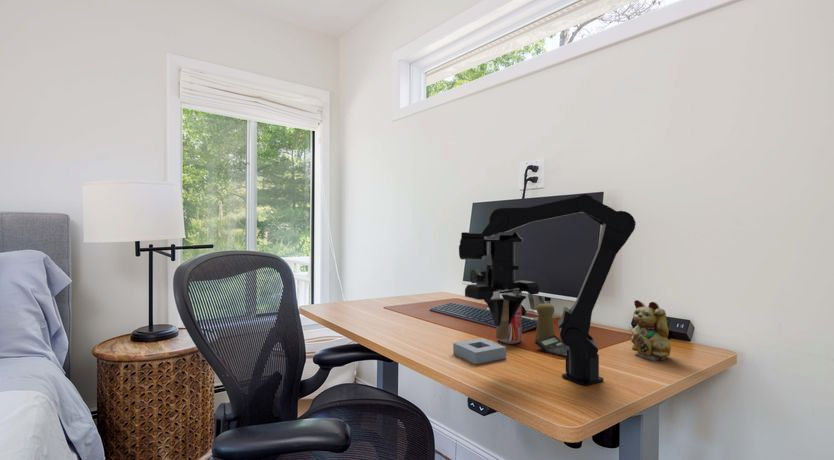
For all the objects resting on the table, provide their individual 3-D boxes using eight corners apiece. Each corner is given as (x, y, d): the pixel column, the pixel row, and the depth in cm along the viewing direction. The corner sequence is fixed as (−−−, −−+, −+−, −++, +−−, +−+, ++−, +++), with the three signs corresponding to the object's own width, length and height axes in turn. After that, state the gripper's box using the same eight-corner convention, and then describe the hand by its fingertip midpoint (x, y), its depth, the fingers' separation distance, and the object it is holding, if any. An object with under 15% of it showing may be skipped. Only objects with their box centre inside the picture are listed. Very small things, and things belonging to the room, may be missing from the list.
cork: (542, 342, 121) (542, 306, 121) (531, 337, 127) (531, 302, 127) (559, 341, 123) (559, 305, 123) (548, 336, 129) (548, 301, 129)
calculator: (573, 361, 105) (573, 349, 105) (534, 350, 114) (534, 340, 114) (591, 353, 111) (591, 343, 111) (553, 344, 120) (553, 334, 120)
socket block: (506, 358, 107) (505, 346, 107) (475, 364, 102) (475, 352, 102) (482, 348, 116) (482, 338, 116) (453, 353, 111) (453, 342, 111)
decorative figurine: (625, 354, 110) (625, 299, 110) (642, 349, 114) (641, 296, 114) (662, 364, 102) (662, 304, 102) (679, 358, 106) (678, 301, 106)
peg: (511, 338, 97) (511, 301, 97) (501, 340, 95) (501, 302, 95) (503, 335, 99) (503, 299, 99) (493, 337, 98) (493, 300, 98)
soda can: (519, 338, 126) (519, 296, 126) (523, 344, 119) (523, 300, 119) (496, 337, 127) (496, 296, 127) (498, 344, 120) (498, 300, 120)
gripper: (509, 257, 109) (509, 315, 109) (451, 259, 100) (451, 322, 100) (540, 260, 99) (540, 323, 99) (479, 263, 90) (479, 332, 90)
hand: (502, 325), depth 97 cm, fingers closed on peg, 3 cm apart
